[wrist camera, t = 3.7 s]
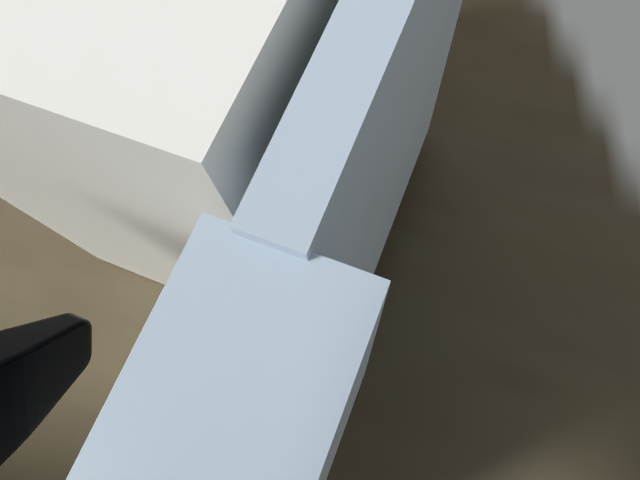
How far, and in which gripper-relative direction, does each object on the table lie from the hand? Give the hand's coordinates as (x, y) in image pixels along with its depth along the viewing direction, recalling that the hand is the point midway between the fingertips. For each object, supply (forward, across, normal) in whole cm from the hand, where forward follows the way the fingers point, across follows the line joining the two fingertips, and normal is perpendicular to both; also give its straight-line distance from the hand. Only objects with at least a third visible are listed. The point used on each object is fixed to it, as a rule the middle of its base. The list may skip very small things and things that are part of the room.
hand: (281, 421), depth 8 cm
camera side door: (+7, 0, +2) cm, 7 cm away
